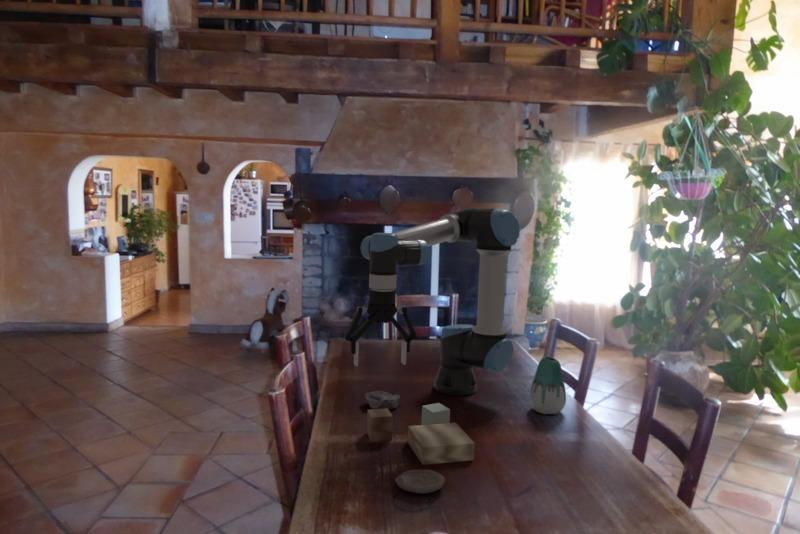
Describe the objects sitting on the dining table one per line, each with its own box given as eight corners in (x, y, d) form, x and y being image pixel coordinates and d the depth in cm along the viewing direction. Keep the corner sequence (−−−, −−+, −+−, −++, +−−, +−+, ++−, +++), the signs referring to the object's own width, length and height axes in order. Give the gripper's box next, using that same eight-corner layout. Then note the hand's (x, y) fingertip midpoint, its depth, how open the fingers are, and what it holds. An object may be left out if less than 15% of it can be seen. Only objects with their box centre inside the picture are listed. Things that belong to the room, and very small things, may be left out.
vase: (567, 409, 192) (571, 356, 189) (561, 420, 181) (565, 364, 179) (532, 402, 196) (535, 351, 194) (524, 413, 186) (528, 359, 184)
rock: (403, 410, 186) (403, 396, 185) (368, 412, 183) (368, 398, 182) (397, 401, 193) (397, 388, 193) (363, 403, 191) (363, 390, 190)
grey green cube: (438, 421, 177) (438, 402, 176) (449, 428, 172) (450, 409, 171) (421, 425, 174) (422, 405, 173) (432, 432, 169) (433, 412, 168)
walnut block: (387, 431, 168) (387, 408, 167) (392, 440, 162) (392, 416, 161) (366, 433, 166) (367, 409, 166) (371, 441, 161) (371, 417, 160)
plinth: (454, 439, 165) (455, 422, 164) (473, 461, 152) (474, 443, 151) (407, 443, 161) (408, 426, 161) (422, 466, 148) (423, 447, 147)
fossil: (398, 479, 142) (398, 467, 142) (445, 481, 141) (445, 469, 140) (392, 497, 132) (392, 484, 131) (443, 499, 130) (443, 487, 130)
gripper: (422, 287, 166) (419, 359, 169) (335, 287, 160) (333, 361, 163) (429, 291, 159) (426, 366, 162) (339, 291, 153) (337, 369, 155)
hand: (379, 364), depth 162 cm, fingers open, 13 cm apart
